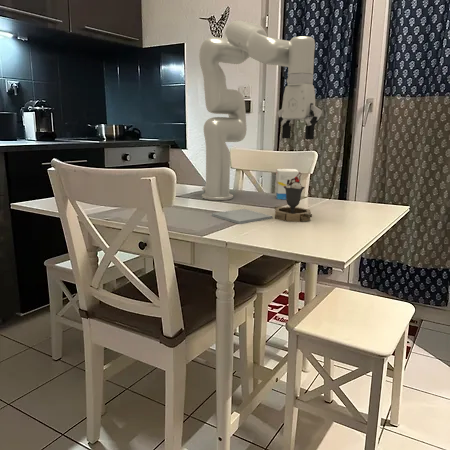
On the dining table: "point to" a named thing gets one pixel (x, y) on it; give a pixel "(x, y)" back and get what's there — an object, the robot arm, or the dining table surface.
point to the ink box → (283, 181)
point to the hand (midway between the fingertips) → (297, 138)
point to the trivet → (242, 216)
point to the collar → (292, 214)
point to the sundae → (293, 192)
